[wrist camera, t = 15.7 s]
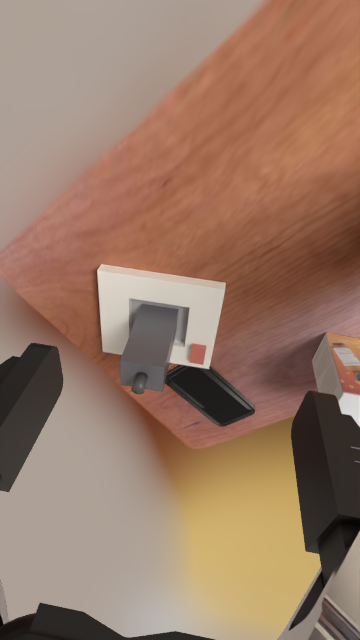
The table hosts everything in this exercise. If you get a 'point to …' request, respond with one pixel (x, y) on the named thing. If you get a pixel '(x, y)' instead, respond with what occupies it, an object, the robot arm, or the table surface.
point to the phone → (210, 394)
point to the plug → (149, 348)
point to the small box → (339, 371)
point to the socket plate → (166, 291)
